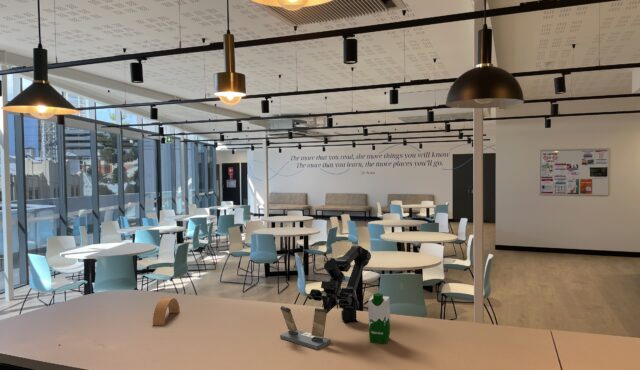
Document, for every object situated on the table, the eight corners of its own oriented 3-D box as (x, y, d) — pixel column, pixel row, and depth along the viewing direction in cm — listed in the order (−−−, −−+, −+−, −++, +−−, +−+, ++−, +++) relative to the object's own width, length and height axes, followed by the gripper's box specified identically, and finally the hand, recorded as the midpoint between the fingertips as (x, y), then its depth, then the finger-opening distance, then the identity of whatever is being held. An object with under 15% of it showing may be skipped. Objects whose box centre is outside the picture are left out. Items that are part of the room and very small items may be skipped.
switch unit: (294, 332, 201) (294, 326, 201) (330, 343, 188) (330, 337, 187) (280, 338, 194) (280, 332, 194) (317, 349, 181) (316, 343, 181)
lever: (290, 327, 198) (283, 305, 195) (297, 330, 193) (289, 307, 191) (287, 329, 196) (279, 307, 194) (294, 332, 192) (286, 310, 190)
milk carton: (367, 342, 187) (366, 295, 187) (371, 335, 196) (371, 289, 195) (388, 344, 184) (387, 296, 184) (391, 337, 193) (391, 291, 192)
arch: (180, 312, 234) (179, 293, 234) (164, 325, 214) (163, 304, 214) (169, 312, 234) (168, 293, 234) (152, 325, 215) (151, 304, 214)
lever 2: (313, 335, 189) (316, 308, 192) (323, 337, 186) (327, 309, 189) (311, 335, 187) (314, 307, 190) (322, 337, 185) (325, 309, 188)
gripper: (311, 271, 201) (299, 301, 192) (348, 274, 193) (338, 307, 183) (319, 284, 208) (308, 314, 199) (356, 288, 200) (346, 320, 190)
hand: (324, 314), depth 193 cm, fingers closed
